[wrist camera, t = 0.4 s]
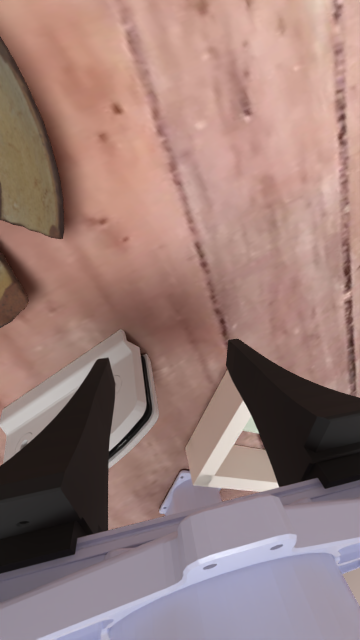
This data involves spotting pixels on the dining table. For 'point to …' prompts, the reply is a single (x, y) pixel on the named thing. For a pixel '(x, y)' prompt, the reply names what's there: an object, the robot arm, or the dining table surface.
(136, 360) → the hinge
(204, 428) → the corner wall
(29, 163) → the brown frying pan
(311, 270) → the dining table surface
